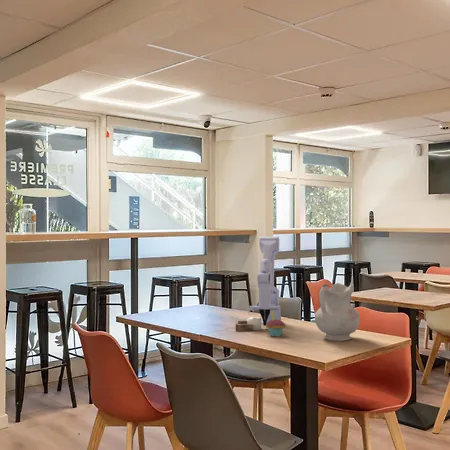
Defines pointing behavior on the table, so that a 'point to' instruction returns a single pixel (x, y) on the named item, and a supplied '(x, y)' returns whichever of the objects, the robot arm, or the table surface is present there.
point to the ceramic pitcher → (337, 312)
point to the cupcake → (275, 326)
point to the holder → (243, 326)
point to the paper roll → (255, 322)
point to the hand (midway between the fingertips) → (264, 325)
